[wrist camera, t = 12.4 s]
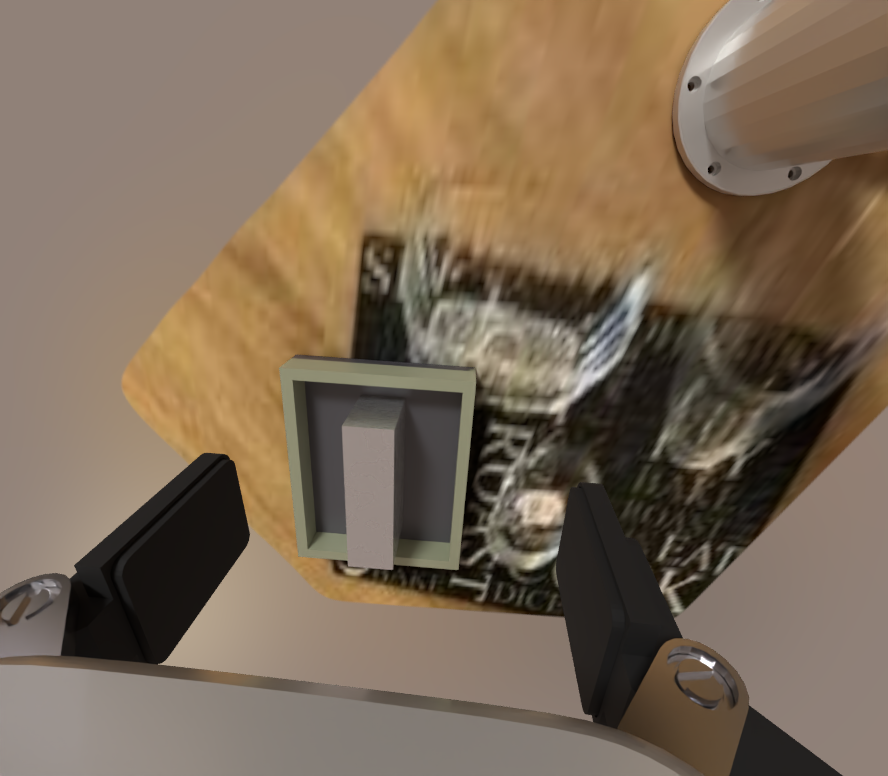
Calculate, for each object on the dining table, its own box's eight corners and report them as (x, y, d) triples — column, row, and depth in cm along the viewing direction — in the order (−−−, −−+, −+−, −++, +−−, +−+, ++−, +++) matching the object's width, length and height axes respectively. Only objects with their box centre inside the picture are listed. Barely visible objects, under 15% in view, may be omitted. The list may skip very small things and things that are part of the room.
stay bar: (405, 398, 36) (394, 429, 31) (402, 523, 42) (392, 569, 36) (360, 394, 36) (341, 426, 31) (363, 520, 42) (348, 566, 36)
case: (475, 367, 36) (476, 382, 33) (458, 544, 44) (458, 570, 40) (295, 354, 36) (279, 367, 33) (310, 531, 44) (298, 556, 41)
